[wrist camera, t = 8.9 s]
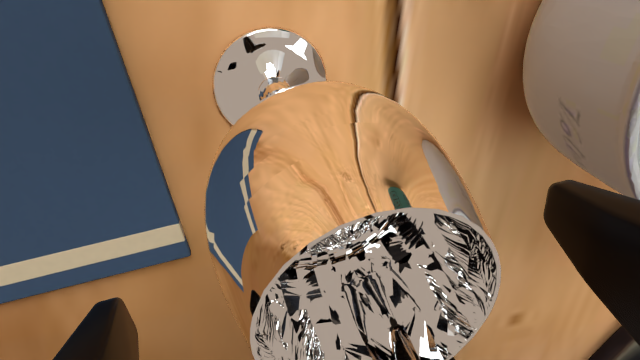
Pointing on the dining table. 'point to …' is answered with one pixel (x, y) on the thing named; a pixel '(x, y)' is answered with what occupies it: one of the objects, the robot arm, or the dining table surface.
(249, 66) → the wineglass
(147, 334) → the dining table surface
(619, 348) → the salad plate
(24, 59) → the napkin
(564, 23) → the teacup
